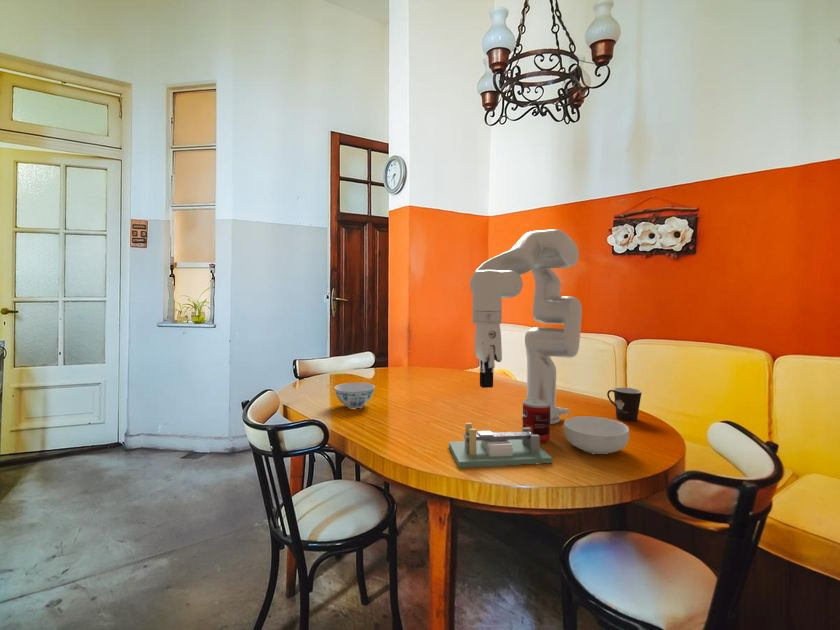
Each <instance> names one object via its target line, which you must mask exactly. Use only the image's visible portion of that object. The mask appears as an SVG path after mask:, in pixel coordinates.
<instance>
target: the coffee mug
mask: <svg viewBox="0 0 840 630" xmlns="http://www.w3.org/2000/svg"><path fill="white" fill-rule="evenodd" d="M611 392H612V393H613V394H614V401H613V400H612V399H611V397H610V393H611ZM606 396H607V398H608V400H609V401H610V403H611V404H612V405H613V406H614V407H615V417H616V420H619V421H623V422H627V421H628V422H629V423H633V422H637V421H638V418H639V417H638V416H639V410H640V406H641V400H642V399H641V398H642V390H640V389H638V388H632V387H614V388H613V389H609V390H608V391H607V393H606Z"/></svg>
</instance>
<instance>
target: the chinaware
mask: <svg viewBox="0 0 840 630" xmlns="http://www.w3.org/2000/svg"><path fill="white" fill-rule="evenodd" d="M375 388H376V386H375V385H374V384H372V383H369V382H345V383H340V384H337V385H336V386H334V392H335V395H336V397H337V399H338V401H339V402H340V403H342V404H343V405H344V406H345V408H346V407H348V408H360V409H362V408H361V407H363V406H364V407H365V405H366V404H367V403H368V402H370V400H371V399H372V397H373V395H374V393H375ZM364 407H363V408H364ZM348 408H347V409H348Z"/></svg>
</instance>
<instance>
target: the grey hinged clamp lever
mask: <svg viewBox="0 0 840 630" xmlns="http://www.w3.org/2000/svg"><path fill="white" fill-rule="evenodd" d="M530 435H534V434H533V433H532V432H531V431H530V430H526V432H522V431H505V432H504V431H502V432H501V431H500V432H499V431H498V432H492V431H491V430H478V431H477V430H476V441H481V440H519V439H530ZM463 438H464V441H465V440H466V441H469V433H463Z"/></svg>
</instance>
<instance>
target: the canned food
mask: <svg viewBox="0 0 840 630" xmlns="http://www.w3.org/2000/svg"><path fill="white" fill-rule="evenodd" d="M522 413H523V419H522V429H523V428H526V427H530V428H531V432H532V433H533V434H534V435H537V434H538V435H539V436H540V440H539V442H545V443H547V442H546V441H548V440H550V438H551V424H550V403H549V402H548V401H545V400H540V399H527V398H526V399H523V402H522ZM548 442H549V441H548Z"/></svg>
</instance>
